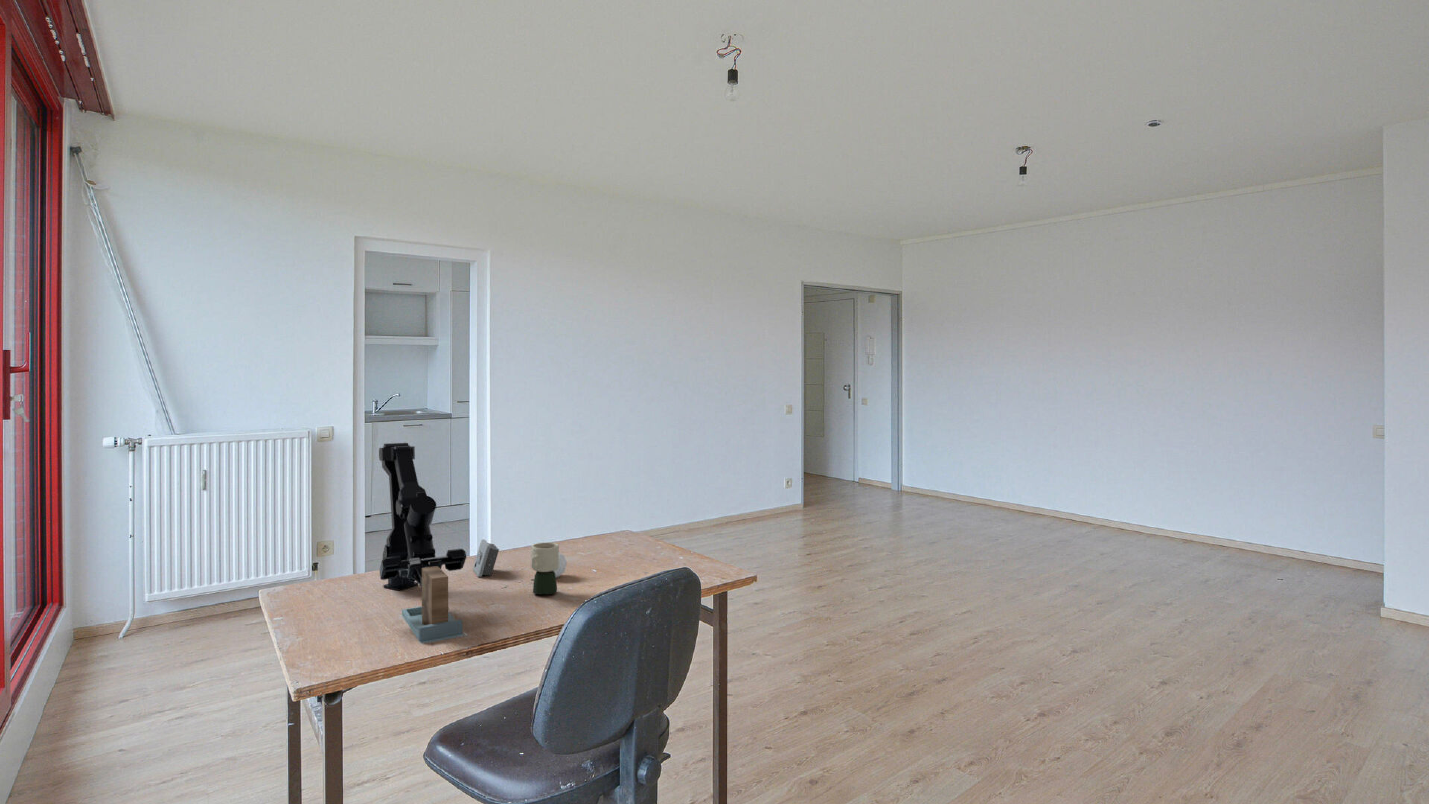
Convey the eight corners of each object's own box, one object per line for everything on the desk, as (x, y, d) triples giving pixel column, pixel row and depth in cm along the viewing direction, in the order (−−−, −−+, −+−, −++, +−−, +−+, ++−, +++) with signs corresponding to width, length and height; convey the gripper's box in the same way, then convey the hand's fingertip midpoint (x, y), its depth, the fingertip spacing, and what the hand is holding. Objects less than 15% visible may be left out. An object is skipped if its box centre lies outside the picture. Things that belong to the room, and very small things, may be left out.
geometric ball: (548, 585, 210) (546, 559, 215) (572, 577, 209) (570, 551, 213) (534, 578, 204) (532, 551, 208) (559, 570, 203) (557, 543, 207)
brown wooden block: (421, 623, 168) (421, 568, 168) (437, 621, 170) (437, 565, 169) (431, 637, 160) (431, 578, 159) (448, 634, 162) (448, 576, 161)
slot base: (401, 617, 174) (401, 602, 173) (441, 611, 179) (441, 596, 178) (420, 646, 156) (420, 629, 156) (463, 638, 161) (463, 622, 161)
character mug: (546, 586, 200) (546, 539, 199) (568, 589, 197) (568, 542, 197) (521, 597, 190) (521, 548, 189) (543, 601, 187) (543, 551, 187)
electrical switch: (472, 570, 215) (475, 538, 215) (490, 569, 218) (493, 538, 217) (478, 578, 207) (481, 546, 207) (496, 578, 209) (500, 545, 209)
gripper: (452, 551, 188) (464, 605, 179) (373, 561, 178) (381, 619, 169) (460, 527, 181) (472, 582, 172) (379, 535, 171) (387, 594, 162)
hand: (429, 595), depth 169 cm, fingers closed
